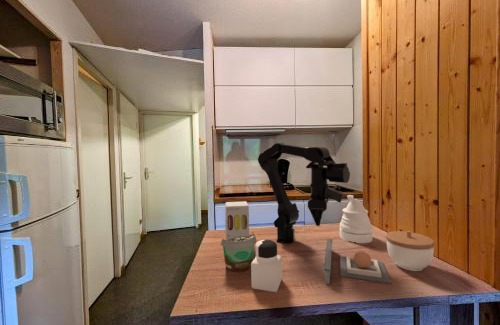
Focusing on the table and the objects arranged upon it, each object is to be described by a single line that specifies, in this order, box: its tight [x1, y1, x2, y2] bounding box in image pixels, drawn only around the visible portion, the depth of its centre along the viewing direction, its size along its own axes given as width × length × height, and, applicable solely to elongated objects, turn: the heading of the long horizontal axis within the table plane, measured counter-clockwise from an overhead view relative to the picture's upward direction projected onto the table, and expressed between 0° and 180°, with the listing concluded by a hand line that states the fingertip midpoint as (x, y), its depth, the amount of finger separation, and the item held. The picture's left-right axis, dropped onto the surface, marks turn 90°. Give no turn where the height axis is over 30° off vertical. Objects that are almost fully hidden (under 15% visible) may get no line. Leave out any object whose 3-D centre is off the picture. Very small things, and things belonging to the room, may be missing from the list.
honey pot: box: [339, 194, 373, 244], centre depth 99 cm, size 13×13×18 cm
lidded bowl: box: [385, 230, 435, 272], centre depth 73 cm, size 13×13×11 cm
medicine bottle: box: [250, 239, 283, 293], centre depth 65 cm, size 7×7×12 cm
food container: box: [220, 232, 258, 273], centre depth 74 cm, size 12×6×10 cm, turn 117°
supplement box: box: [224, 200, 250, 240], centre depth 95 cm, size 10×9×17 cm
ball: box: [353, 250, 372, 269], centre depth 72 cm, size 5×5×5 cm
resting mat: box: [339, 255, 392, 285], centre depth 72 cm, size 13×13×2 cm
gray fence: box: [323, 238, 333, 286], centre depth 75 cm, size 2×24×4 cm, turn 159°
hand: (319, 222), depth 86 cm, fingers open, 9 cm apart
